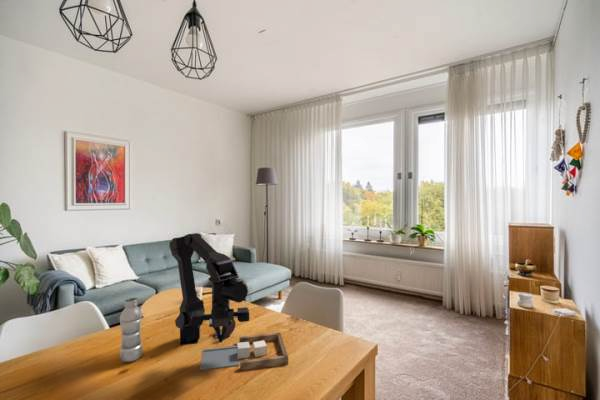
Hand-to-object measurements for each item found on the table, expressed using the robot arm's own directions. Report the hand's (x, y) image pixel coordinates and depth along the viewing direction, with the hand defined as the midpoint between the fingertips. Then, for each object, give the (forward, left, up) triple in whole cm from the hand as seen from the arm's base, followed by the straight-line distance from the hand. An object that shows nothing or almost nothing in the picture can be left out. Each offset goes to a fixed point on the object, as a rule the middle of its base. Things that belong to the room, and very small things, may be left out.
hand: (220, 341), depth 96 cm
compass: (0, +15, -6) cm, 17 cm away
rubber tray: (0, 0, -6) cm, 6 cm away
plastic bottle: (-29, +6, -6) cm, 30 cm away
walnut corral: (+13, 0, -6) cm, 14 cm away
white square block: (+13, 0, -6) cm, 14 cm away
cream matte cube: (+7, 0, -6) cm, 9 cm away
